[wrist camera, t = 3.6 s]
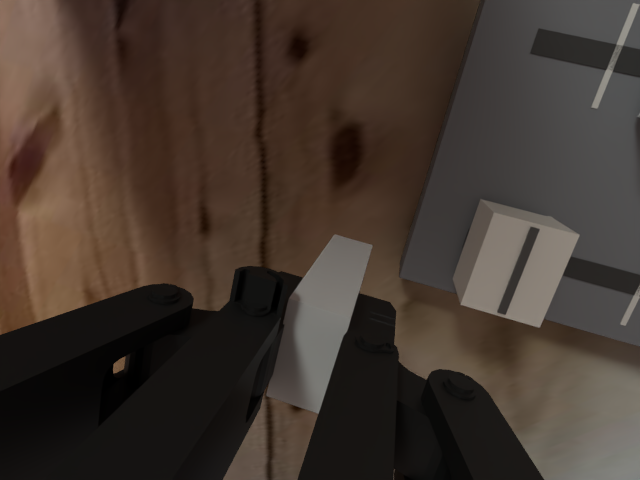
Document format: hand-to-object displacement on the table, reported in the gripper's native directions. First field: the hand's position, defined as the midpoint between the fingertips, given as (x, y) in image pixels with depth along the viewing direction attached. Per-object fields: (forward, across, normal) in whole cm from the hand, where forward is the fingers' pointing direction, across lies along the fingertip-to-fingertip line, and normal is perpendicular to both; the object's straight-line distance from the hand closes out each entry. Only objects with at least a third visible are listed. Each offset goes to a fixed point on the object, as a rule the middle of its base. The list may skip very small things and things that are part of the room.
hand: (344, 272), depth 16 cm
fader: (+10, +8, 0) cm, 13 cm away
